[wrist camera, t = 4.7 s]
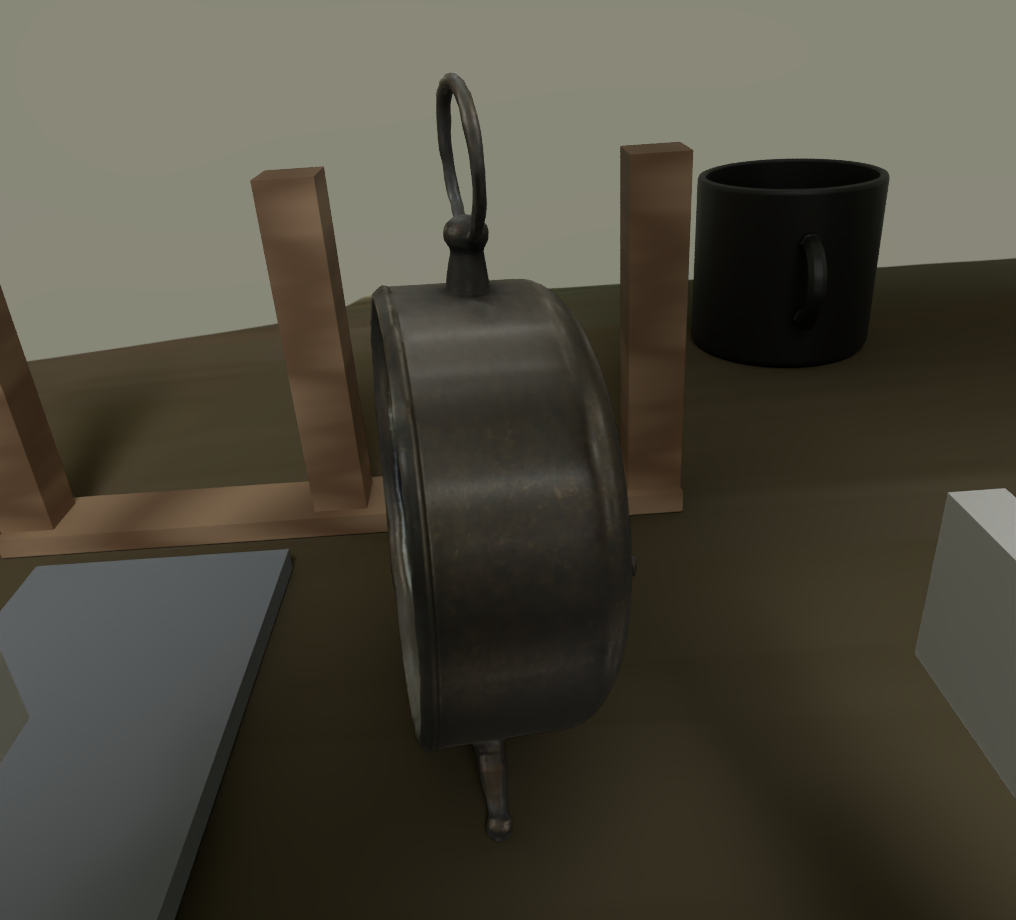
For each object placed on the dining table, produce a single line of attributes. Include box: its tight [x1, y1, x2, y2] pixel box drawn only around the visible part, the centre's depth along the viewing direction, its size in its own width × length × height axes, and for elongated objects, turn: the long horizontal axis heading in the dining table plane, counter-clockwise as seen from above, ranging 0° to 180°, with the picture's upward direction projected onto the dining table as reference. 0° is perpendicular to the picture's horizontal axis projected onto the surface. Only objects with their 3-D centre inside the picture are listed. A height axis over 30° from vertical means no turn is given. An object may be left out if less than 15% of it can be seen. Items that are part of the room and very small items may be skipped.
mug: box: [692, 159, 889, 367], centre depth 45 cm, size 9×12×9 cm
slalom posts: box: [0, 142, 693, 558], centre depth 31 cm, size 26×3×13 cm, turn 92°
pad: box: [0, 549, 293, 920], centre depth 24 cm, size 9×15×1 cm, turn 2°
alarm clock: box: [370, 73, 637, 842], centre depth 20 cm, size 11×5×16 cm, turn 12°
